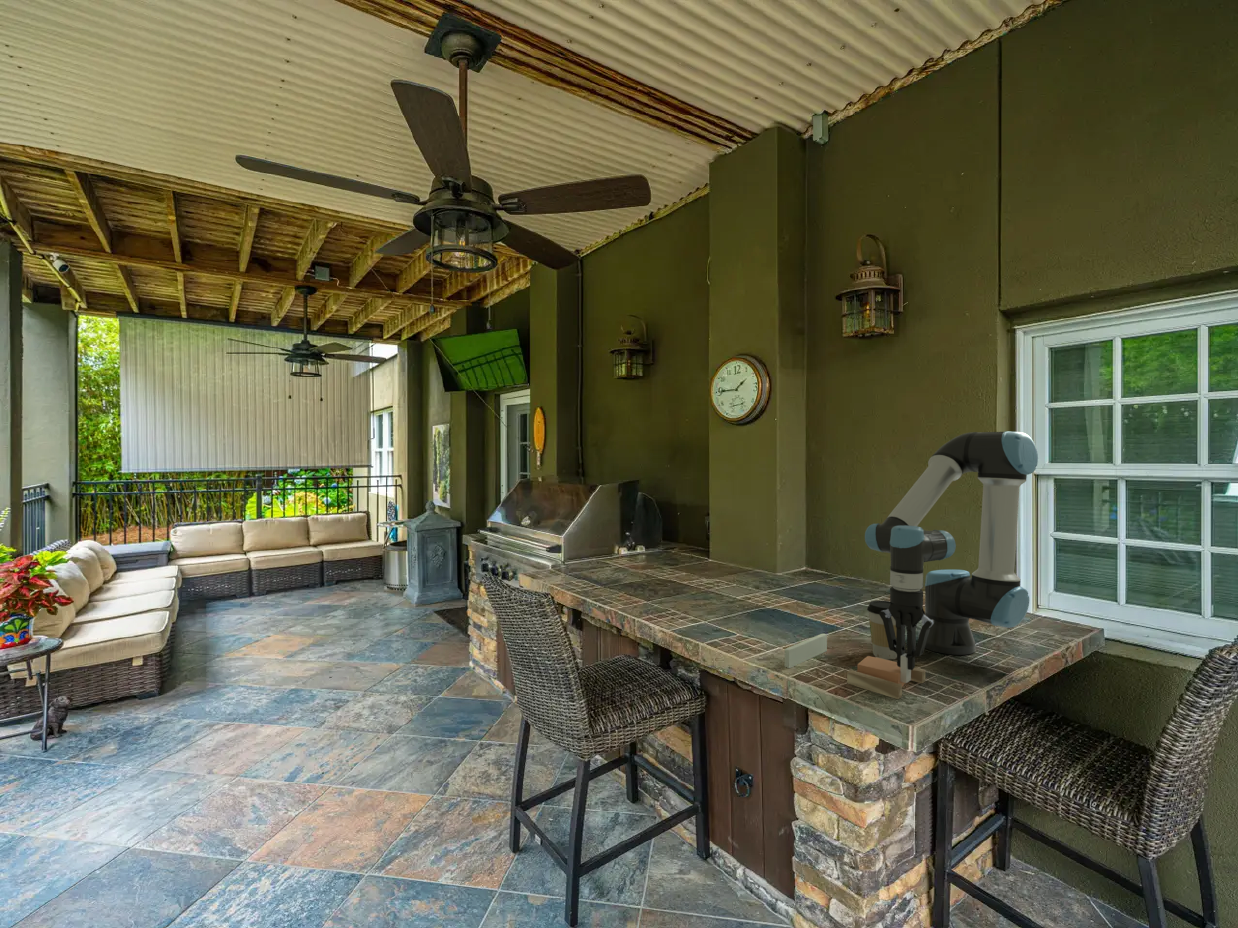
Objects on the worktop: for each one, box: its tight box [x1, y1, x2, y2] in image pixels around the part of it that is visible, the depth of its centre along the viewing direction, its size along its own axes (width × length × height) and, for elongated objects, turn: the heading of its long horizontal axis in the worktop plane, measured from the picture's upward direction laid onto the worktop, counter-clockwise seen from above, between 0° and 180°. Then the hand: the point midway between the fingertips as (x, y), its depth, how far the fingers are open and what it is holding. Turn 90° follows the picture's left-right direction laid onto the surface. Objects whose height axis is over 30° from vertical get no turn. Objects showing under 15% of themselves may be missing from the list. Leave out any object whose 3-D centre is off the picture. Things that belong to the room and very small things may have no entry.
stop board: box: [784, 632, 828, 669], centre depth 172 cm, size 20×1×5 cm, turn 132°
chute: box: [846, 656, 926, 700], centre depth 155 cm, size 16×13×3 cm
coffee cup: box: [866, 600, 897, 660], centre depth 174 cm, size 10×10×15 cm
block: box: [856, 655, 906, 688], centre depth 156 cm, size 8×10×4 cm
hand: (905, 680), depth 151 cm, fingers closed
